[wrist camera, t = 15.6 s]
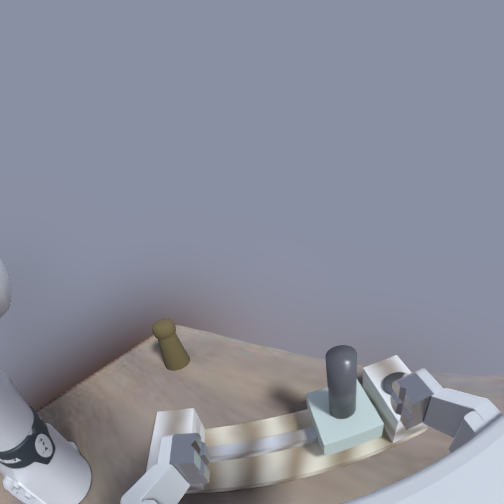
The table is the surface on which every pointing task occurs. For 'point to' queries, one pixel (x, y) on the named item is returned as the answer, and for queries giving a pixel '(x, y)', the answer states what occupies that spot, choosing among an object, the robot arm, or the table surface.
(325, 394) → the carriage
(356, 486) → the table surface
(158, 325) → the olive brown pepper mill
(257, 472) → the rail track
